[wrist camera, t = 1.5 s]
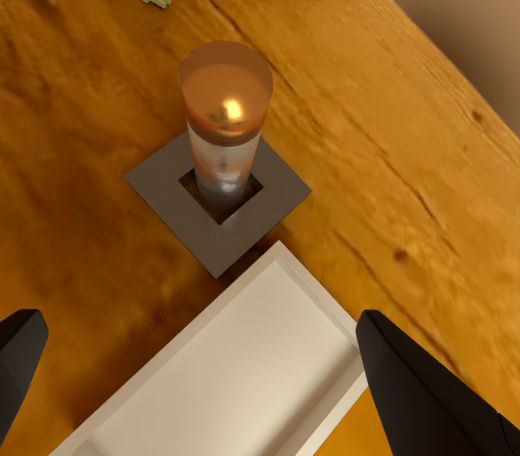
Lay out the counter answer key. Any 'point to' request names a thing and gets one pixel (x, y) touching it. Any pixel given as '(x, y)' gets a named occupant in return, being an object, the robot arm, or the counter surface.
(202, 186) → the pin
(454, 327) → the counter surface
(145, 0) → the key
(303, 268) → the parts tray
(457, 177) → the counter surface
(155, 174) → the grey flat square frame
